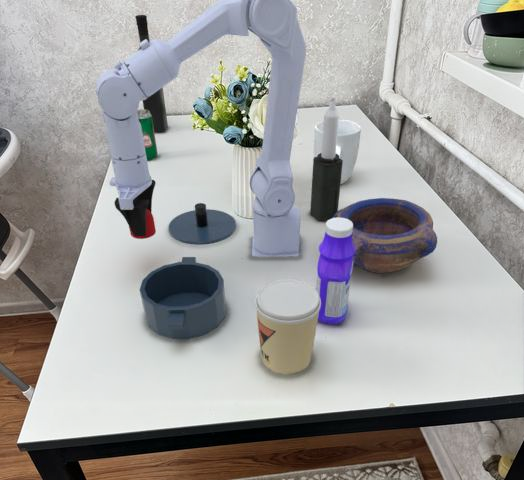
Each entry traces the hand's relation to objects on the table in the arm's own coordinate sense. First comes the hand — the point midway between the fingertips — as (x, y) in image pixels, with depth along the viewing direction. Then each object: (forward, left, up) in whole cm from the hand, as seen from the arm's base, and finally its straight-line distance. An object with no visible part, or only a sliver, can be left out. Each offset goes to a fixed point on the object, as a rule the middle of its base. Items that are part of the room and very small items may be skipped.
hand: (142, 228), depth 90 cm
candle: (-36, -21, -9) cm, 43 cm away
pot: (-9, +15, -9) cm, 19 cm away
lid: (-9, -15, -8) cm, 20 cm away
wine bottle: (+11, -78, -9) cm, 80 cm away
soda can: (+10, -56, -9) cm, 58 cm away
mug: (-40, -39, -9) cm, 57 cm away
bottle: (-34, +15, -9) cm, 38 cm away
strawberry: (0, 0, -1) cm, 1 cm away
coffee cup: (-26, +26, -9) cm, 38 cm away
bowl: (-45, -2, -9) cm, 46 cm away
